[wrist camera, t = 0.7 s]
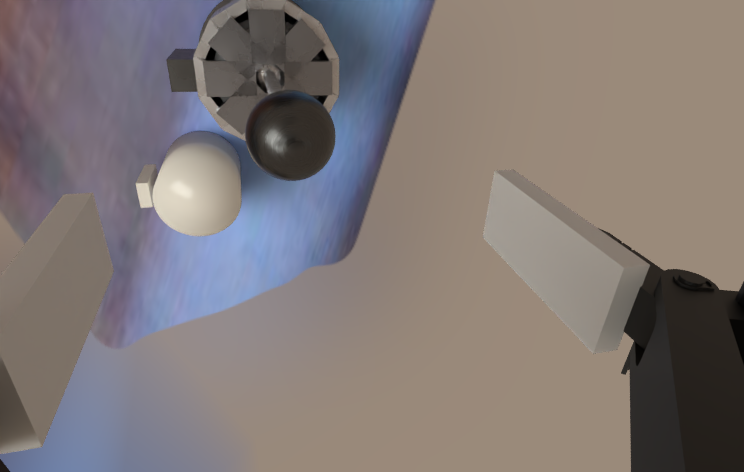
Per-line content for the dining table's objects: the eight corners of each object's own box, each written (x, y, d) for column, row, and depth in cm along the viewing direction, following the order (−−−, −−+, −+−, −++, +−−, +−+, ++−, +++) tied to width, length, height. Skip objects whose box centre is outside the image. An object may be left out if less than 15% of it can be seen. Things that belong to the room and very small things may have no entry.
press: (171, -14, 42) (151, -12, 32) (322, -8, 45) (346, -5, 35) (191, 119, 47) (179, 157, 37) (323, 116, 51) (345, 150, 41)
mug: (143, 132, 47) (125, 162, 39) (236, 129, 49) (237, 157, 41) (157, 201, 51) (143, 240, 43) (243, 196, 53) (245, 232, 45)
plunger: (207, 15, 35) (180, 47, 18) (320, 18, 37) (391, 50, 20) (220, 127, 39) (208, 240, 22) (321, 124, 41) (381, 226, 24)
